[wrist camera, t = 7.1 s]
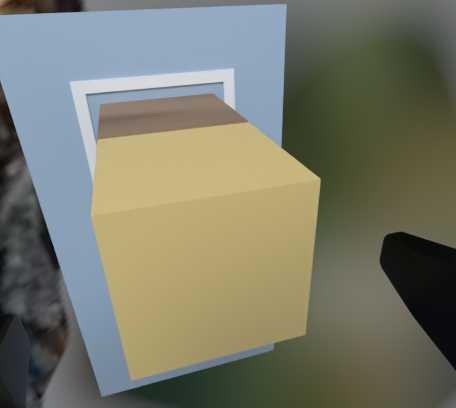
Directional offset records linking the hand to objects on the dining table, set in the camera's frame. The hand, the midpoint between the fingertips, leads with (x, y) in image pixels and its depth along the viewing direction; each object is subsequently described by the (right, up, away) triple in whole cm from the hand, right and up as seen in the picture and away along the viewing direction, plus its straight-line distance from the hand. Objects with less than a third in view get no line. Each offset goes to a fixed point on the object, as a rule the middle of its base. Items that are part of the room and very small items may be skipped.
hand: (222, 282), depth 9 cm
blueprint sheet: (-3, 0, +11) cm, 12 cm away
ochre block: (-1, +2, +4) cm, 5 cm away
